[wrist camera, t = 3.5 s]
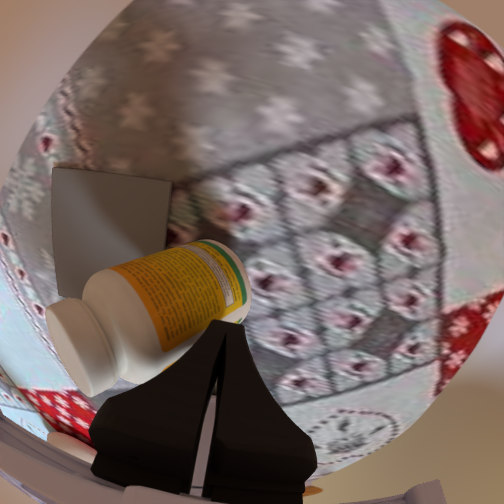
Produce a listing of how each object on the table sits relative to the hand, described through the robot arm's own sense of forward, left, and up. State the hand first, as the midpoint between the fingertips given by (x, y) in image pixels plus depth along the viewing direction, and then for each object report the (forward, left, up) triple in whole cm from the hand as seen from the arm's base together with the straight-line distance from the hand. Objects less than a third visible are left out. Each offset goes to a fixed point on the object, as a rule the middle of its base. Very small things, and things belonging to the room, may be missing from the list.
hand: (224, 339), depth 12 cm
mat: (0, +9, -6) cm, 11 cm away
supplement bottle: (0, +1, -5) cm, 5 cm away
